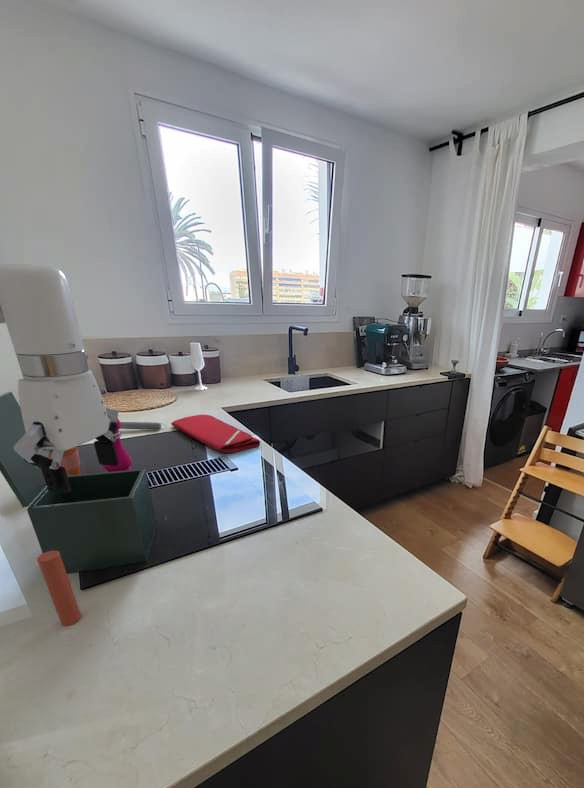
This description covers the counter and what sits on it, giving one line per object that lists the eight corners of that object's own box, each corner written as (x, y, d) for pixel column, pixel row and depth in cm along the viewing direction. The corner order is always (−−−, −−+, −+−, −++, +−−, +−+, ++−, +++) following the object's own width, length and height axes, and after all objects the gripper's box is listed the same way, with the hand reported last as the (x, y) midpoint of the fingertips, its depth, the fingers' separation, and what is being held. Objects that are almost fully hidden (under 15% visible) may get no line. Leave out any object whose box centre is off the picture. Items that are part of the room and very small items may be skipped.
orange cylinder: (58, 627, 64) (33, 562, 58) (64, 615, 66) (41, 551, 61) (78, 624, 64) (55, 559, 59) (83, 611, 67) (62, 549, 62)
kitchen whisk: (165, 431, 150) (162, 415, 148) (66, 436, 144) (61, 419, 141) (168, 426, 156) (166, 411, 153) (73, 430, 149) (69, 414, 147)
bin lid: (11, 391, 73) (6, 392, 72) (-31, 411, 61) (-37, 413, 61) (57, 474, 80) (53, 475, 80) (28, 506, 69) (23, 507, 68)
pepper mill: (124, 469, 119) (108, 405, 111) (140, 474, 116) (125, 408, 108) (100, 478, 113) (82, 411, 105) (116, 483, 110) (99, 415, 102)
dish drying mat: (209, 419, 166) (208, 410, 164) (262, 445, 140) (261, 436, 138) (171, 427, 155) (169, 418, 154) (220, 457, 129) (219, 446, 128)
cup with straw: (43, 478, 112) (23, 417, 105) (78, 467, 119) (62, 410, 112) (56, 487, 107) (36, 424, 100) (93, 475, 114) (76, 416, 107)
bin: (157, 526, 91) (145, 468, 85) (147, 561, 79) (131, 497, 73) (75, 536, 87) (56, 476, 81) (51, 576, 75) (26, 509, 69)
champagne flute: (201, 390, 212) (195, 344, 202) (192, 389, 214) (185, 343, 204) (210, 387, 217) (204, 343, 208) (200, 386, 219) (194, 342, 210)
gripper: (80, 354, 62) (105, 454, 69) (-36, 375, 46) (12, 502, 53) (123, 357, 61) (144, 457, 68) (20, 379, 45) (61, 507, 52)
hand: (86, 477), depth 61 cm, fingers open, 9 cm apart
